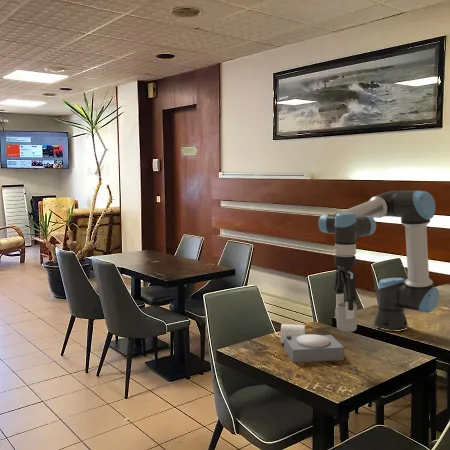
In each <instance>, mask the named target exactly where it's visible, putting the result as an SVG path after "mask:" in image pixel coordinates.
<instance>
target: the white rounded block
mask: <svg viewBox="0 0 450 450" xmlns="http://www.w3.org/2000/svg"><path fill="white" fill-rule="evenodd" d="M287 335H290V336H291V337H297V336H301V335H306V325H305V324H290V323H289V324H288V323H281V326H280V343H281V344H284V337H286V336H287Z"/></svg>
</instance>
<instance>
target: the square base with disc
mask: <svg viewBox="0 0 450 450" xmlns="http://www.w3.org/2000/svg"><path fill="white" fill-rule="evenodd" d="M344 348H345V347H344V346H343V345H342V344H341V343H340V342H339V341H338V340H337V339H336V338H335V337H334V335H332V334H324V335H323V334H321V335H320V334H313V333H312V334H309V333H308V334H307V333H306V334H305V335H301V336H297V337H291V336H290V335H287V336H286V337H284V343H283V350H284V351H285V353H286V354H287V356H288V357H289V359H290V361H291V362H292V363H312V362H326V361H327V362H329V361H330V362H331V361H344V358H345V357H344V355H345V353H344V351H345V349H344Z"/></svg>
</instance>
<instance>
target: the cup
mask: <svg viewBox="0 0 450 450" xmlns="http://www.w3.org/2000/svg"><path fill="white" fill-rule="evenodd" d="M357 316H358V305H357V304H356V303H354V319H346V302H344V303H339V304H337V307H336V306H335V309H334V317H335V320H336V328H337V330H339V331H340V332H346V333H347V332H350V333H351V332H355V331H356V330H357V327H358V325H357V324H358V317H357Z"/></svg>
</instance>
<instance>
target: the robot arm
mask: <svg viewBox="0 0 450 450" xmlns="http://www.w3.org/2000/svg"><path fill="white" fill-rule="evenodd" d="M435 202H436V201H435V199H434V197H433V195H432V194H431V193H429V192H428V191H425V190H424V191H423V190H391V191H387V192H384V193H380V194H377V195H375V196H373V197H371V198H370V199H369V200H368V201H365V202H362V203H360V204H359V205H355V206H352V207H350V208H347V209H344V210H342V211H340V212H336V213H333V214H330V213H329V214H328V213H327V214H322V215H321V216H320V217H319V218H318V223H317V225H318V229H319V231H320V232H321V233H325V234H332V235H334V246H333V249H334V254H335V255H334V266H335V275H334V285H333V290H334V291H335V297H336V299H335V301H336V302H335V308H336V307H337V304H339V303H346V319H354V304H355V302H357V299H358V298H357V287H356V273H355V272H352V267H355V266H356V263H357V262H356V261H357V256H356V254H357V242H356V241H357V238H360V237H362V238H363V237H367V236H371V235H373V234H374V233H375V232H376V229H377V222H376V220H375V218H376V219H381V218H383V217H384V218H385V217H393V218H394V217H395V218H400V223H401V224H402V225H403V226H404V228H405V229H404V230H405V247H406V264H407V278H406V279H405V278H403V277H387V278H382V279H380V280H379V282H378V286H377V311H376V314H375V316H374V319H373V326H374V325H375V326H377V327H379V328H384V329H389V330H401V329H405V328H407V327H408V326H409V323H408V320H407V317H406V314H405V309H406V310H409V311H415V312H419V313H424V314H429V313H431V312H433V311H434V310H435V308H436V307H437V305H438V303H439V299H440V291H439V289H438V288H437V287H435V286H434V281H433V280H432V279H431V278H430V273H429V253H428V232H427V231H428V230H427V226H428V224H430V222H431V219H432V218H434V216H435V213H436V203H435ZM344 290H345V291H344ZM344 295H345V296H346V299H345V296H344Z"/></svg>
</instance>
